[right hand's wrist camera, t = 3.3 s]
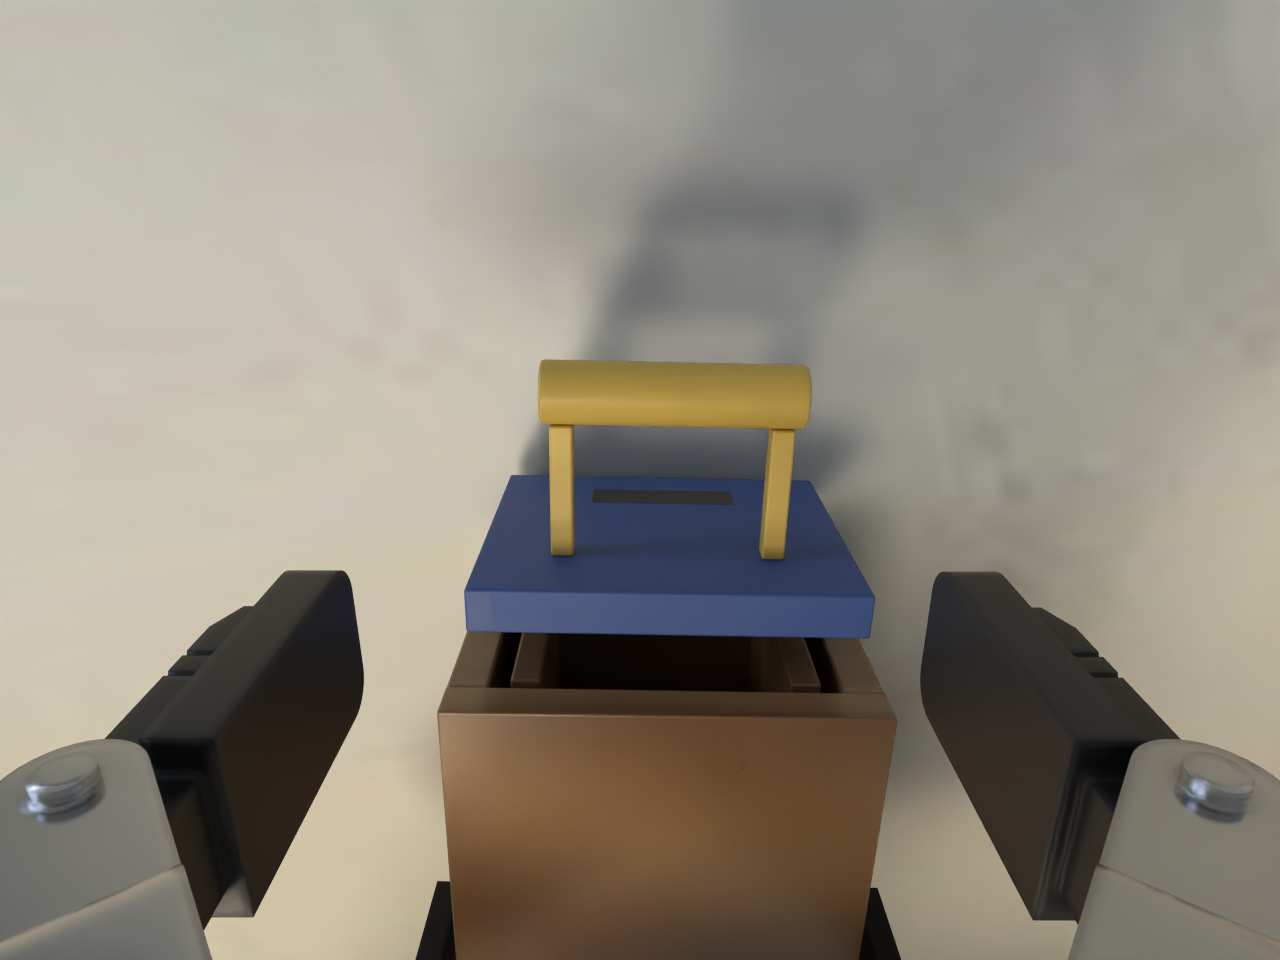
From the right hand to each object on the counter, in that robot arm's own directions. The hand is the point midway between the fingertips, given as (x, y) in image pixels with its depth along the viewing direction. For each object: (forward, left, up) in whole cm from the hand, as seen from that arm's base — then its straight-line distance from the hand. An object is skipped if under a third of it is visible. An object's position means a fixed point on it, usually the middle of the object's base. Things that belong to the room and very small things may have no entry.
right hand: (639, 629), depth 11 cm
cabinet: (-13, -6, -17) cm, 22 cm away
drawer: (-7, -4, -16) cm, 18 cm away
